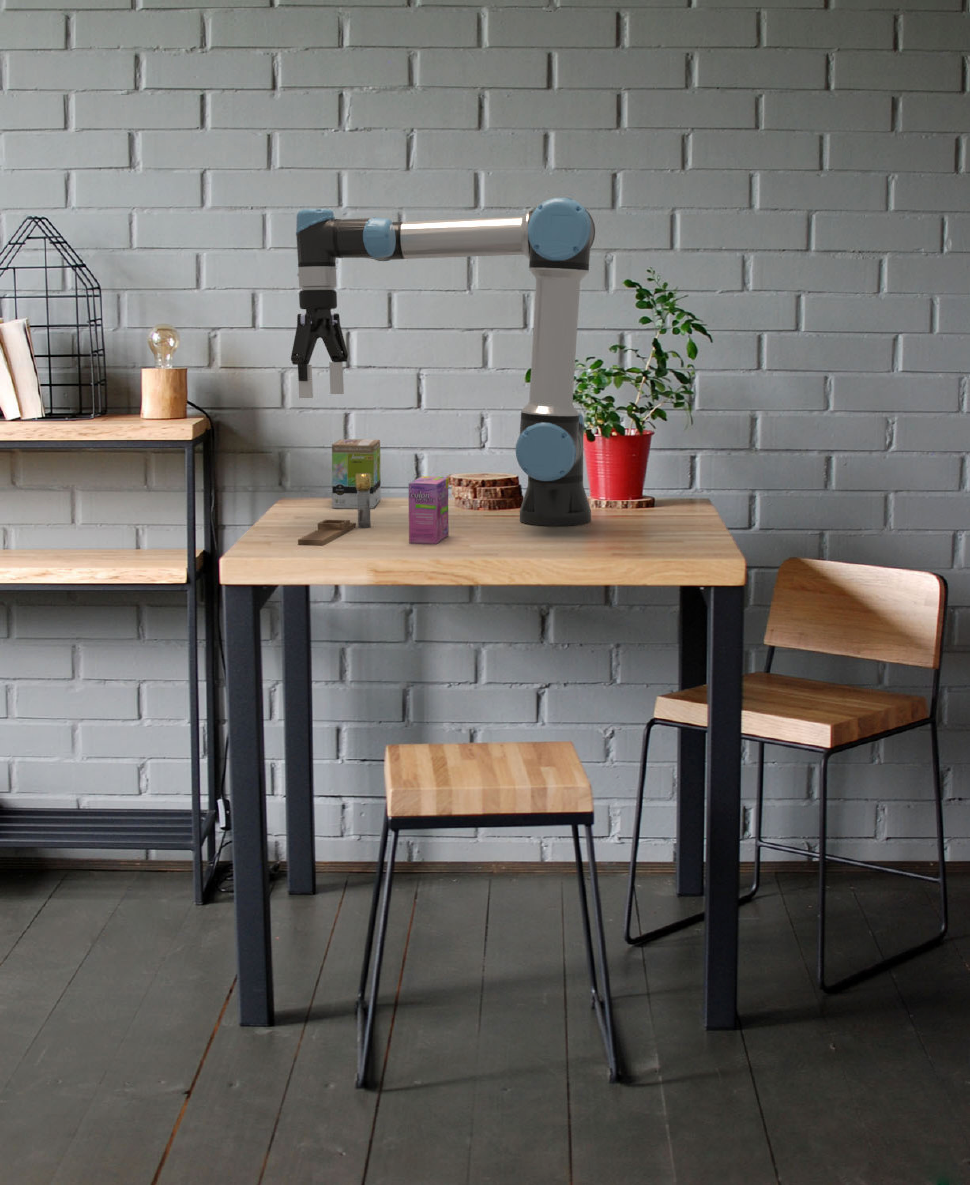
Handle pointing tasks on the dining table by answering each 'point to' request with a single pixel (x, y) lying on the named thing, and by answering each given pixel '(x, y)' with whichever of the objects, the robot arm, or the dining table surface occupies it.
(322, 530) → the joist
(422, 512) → the box
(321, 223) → the robot arm
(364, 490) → the silver gold cylinder
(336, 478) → the tea box
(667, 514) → the dining table surface
